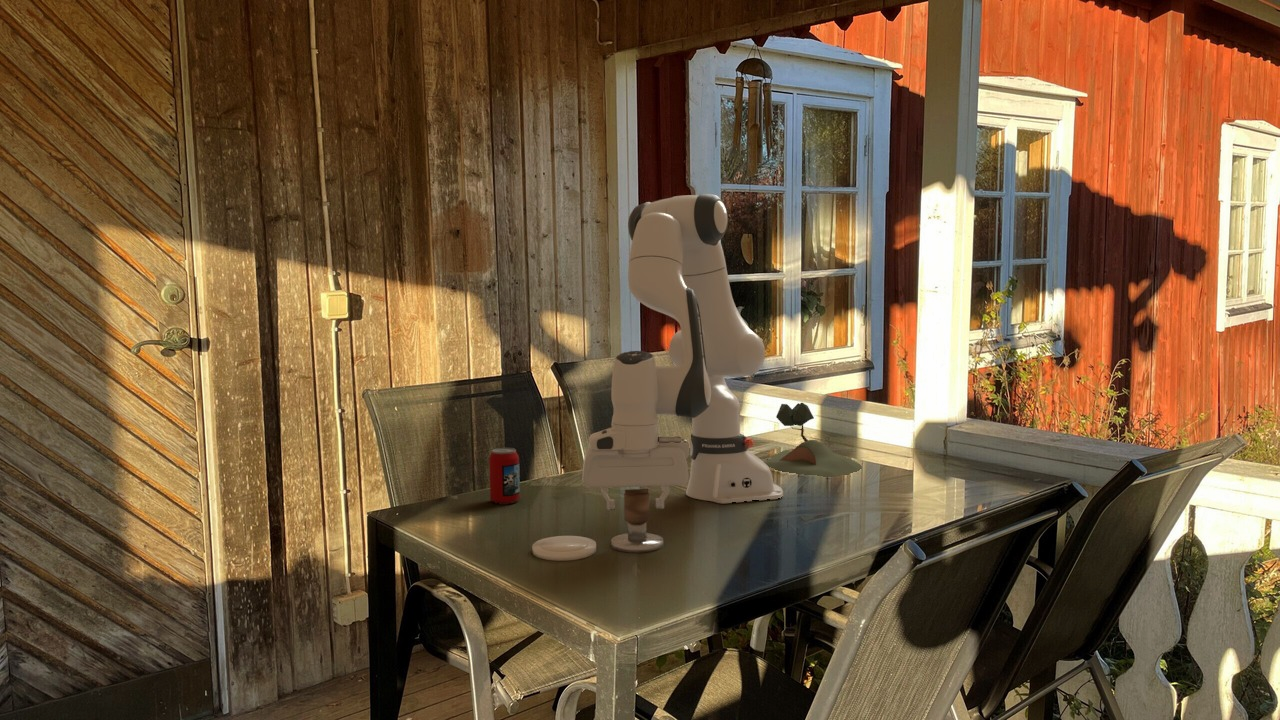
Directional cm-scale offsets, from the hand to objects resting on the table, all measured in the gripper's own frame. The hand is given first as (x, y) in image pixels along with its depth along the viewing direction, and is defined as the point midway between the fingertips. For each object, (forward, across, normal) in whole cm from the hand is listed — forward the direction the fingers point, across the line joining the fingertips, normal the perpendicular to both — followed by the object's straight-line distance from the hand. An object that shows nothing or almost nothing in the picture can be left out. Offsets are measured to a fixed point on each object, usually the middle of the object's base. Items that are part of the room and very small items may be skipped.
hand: (635, 508), depth 182 cm
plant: (+7, -52, -68) cm, 86 cm away
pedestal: (+7, 0, 0) cm, 7 cm away
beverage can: (+7, +27, -38) cm, 47 cm away
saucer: (+7, +14, +2) cm, 16 cm away
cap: (+2, 0, 0) cm, 2 cm away
